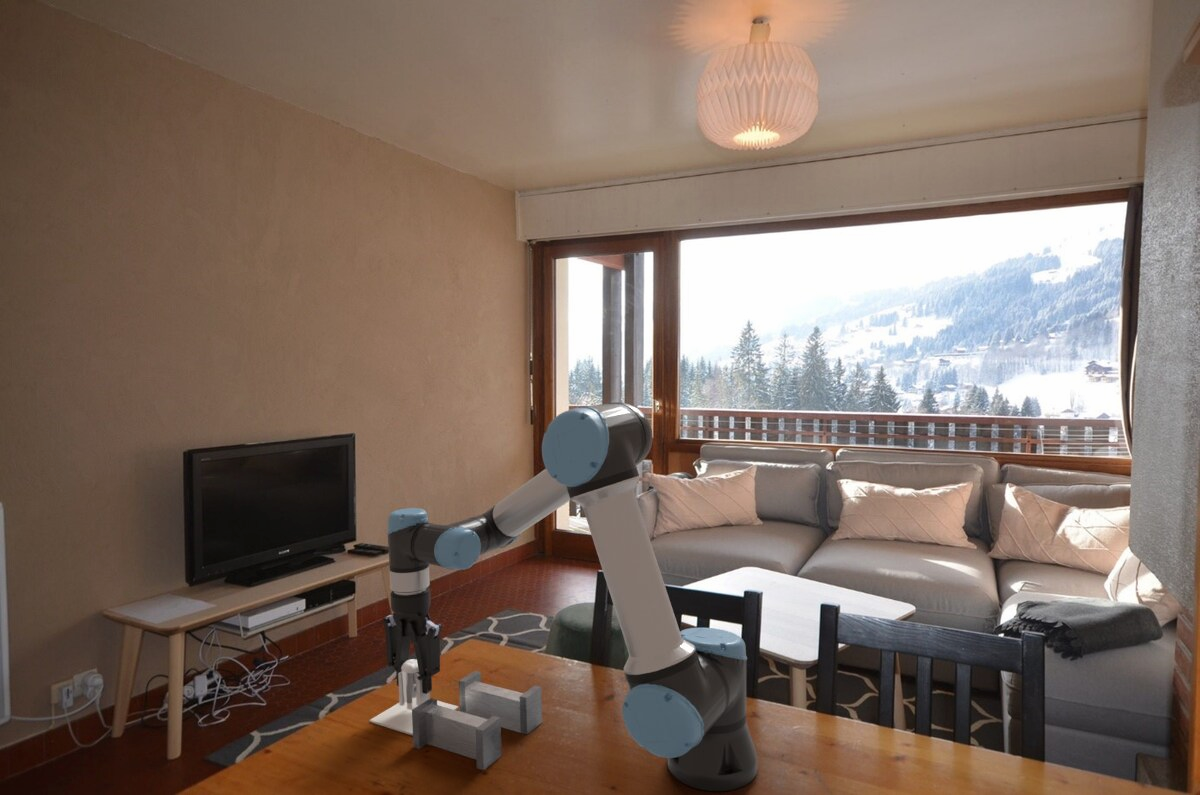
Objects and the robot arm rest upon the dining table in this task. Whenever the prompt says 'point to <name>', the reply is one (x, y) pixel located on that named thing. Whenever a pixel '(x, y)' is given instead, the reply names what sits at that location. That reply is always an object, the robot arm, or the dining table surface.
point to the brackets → (476, 719)
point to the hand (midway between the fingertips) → (414, 704)
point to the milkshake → (410, 683)
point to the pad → (401, 717)
